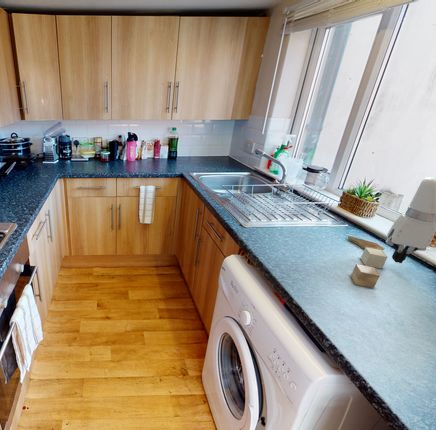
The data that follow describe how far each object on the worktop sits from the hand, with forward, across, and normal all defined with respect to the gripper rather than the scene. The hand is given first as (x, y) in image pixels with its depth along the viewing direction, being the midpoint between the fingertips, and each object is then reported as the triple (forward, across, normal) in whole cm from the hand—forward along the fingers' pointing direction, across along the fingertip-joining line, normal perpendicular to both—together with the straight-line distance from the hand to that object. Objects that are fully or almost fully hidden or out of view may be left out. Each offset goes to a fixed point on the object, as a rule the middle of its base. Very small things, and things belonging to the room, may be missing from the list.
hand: (396, 260), depth 102 cm
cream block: (+3, +7, 0) cm, 7 cm away
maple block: (+3, +14, +15) cm, 21 cm away
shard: (+3, +5, -14) cm, 15 cm away
